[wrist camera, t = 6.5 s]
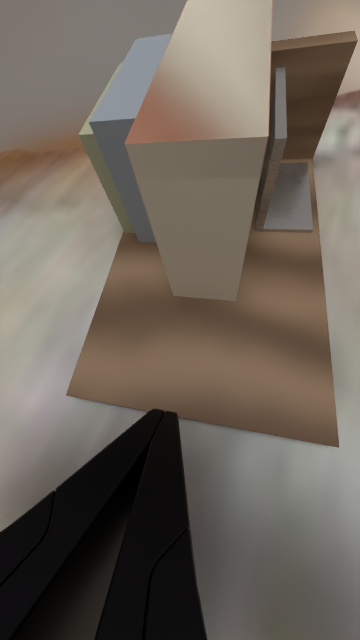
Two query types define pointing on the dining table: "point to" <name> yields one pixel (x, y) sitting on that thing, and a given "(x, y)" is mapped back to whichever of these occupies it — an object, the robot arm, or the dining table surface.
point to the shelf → (232, 303)
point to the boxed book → (206, 143)
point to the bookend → (282, 175)
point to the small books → (123, 133)
